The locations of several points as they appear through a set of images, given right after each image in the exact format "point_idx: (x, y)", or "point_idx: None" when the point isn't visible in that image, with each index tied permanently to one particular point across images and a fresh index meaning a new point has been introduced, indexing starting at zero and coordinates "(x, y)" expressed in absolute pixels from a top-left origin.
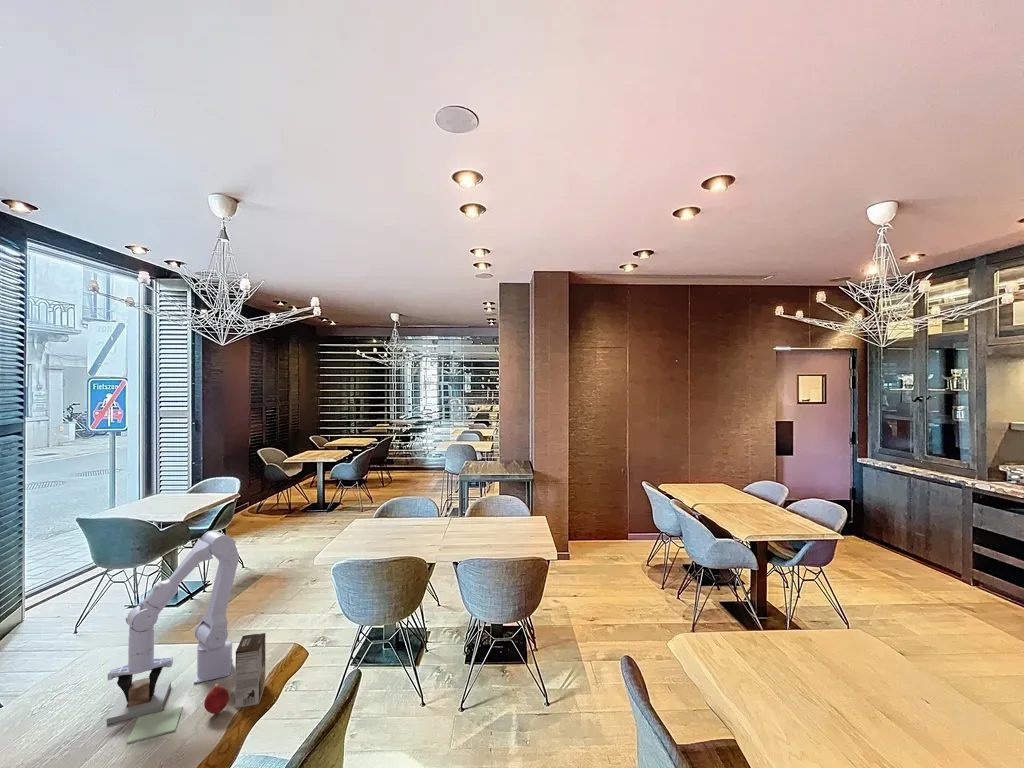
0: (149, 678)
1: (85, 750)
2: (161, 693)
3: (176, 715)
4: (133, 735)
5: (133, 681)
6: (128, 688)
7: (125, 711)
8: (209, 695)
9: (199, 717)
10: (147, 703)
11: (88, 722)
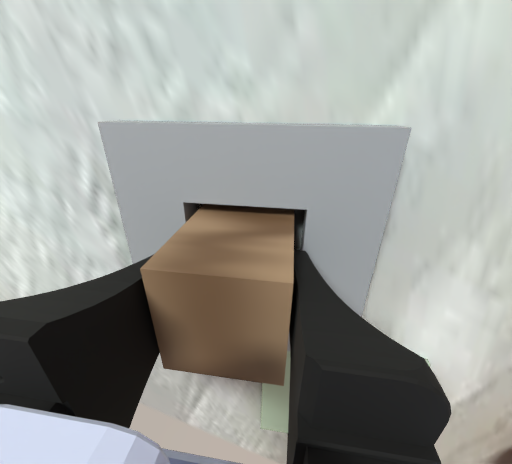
0: (287, 461)
1: (160, 393)
2: (346, 261)
3: None
4: (271, 414)
5: (145, 279)
6: (154, 360)
7: None
8: None
9: (472, 432)
10: None
11: (86, 269)
